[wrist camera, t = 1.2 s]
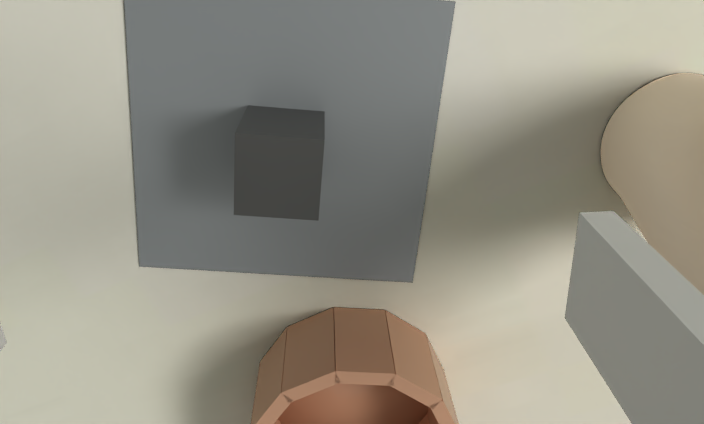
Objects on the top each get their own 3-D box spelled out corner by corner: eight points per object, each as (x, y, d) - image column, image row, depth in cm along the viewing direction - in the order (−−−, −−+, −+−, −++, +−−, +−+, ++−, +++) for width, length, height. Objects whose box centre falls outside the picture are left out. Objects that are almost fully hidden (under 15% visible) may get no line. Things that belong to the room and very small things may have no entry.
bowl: (256, 450, 41) (246, 528, 36) (262, 303, 37) (251, 367, 31) (427, 456, 42) (443, 533, 37) (454, 313, 38) (476, 377, 32)
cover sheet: (143, 259, 36) (111, 315, 31) (127, -31, 29) (84, -24, 24) (410, 275, 37) (425, 331, 32) (452, 0, 31) (478, 13, 25)
